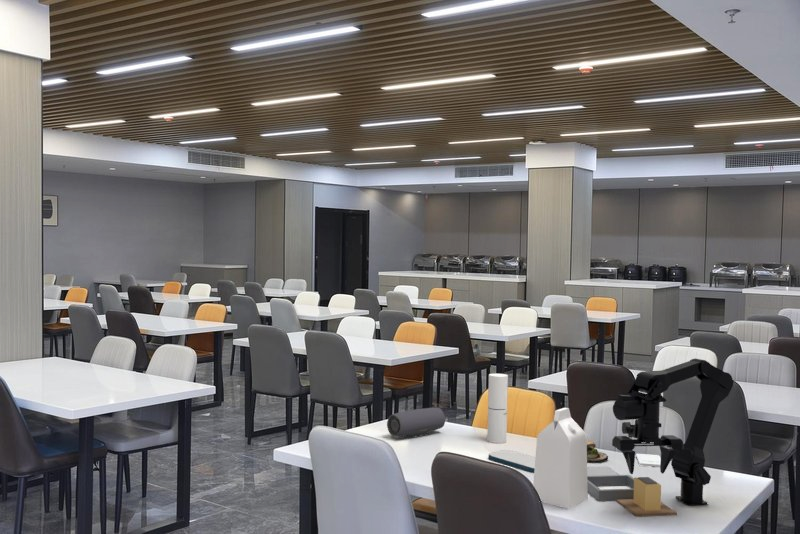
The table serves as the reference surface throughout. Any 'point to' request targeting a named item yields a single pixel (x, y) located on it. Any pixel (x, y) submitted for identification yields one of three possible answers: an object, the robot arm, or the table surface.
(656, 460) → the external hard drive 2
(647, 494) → the ochre module
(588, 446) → the burger
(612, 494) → the equipment case
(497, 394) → the cylindrical container
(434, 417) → the bluetooth speaker
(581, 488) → the milk
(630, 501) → the walnut board
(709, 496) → the table surface
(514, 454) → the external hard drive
